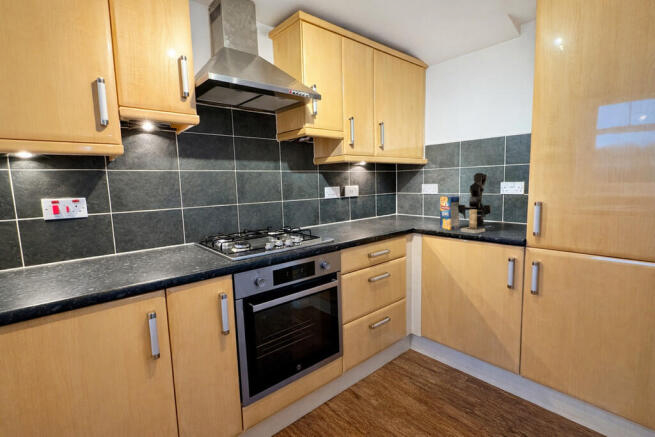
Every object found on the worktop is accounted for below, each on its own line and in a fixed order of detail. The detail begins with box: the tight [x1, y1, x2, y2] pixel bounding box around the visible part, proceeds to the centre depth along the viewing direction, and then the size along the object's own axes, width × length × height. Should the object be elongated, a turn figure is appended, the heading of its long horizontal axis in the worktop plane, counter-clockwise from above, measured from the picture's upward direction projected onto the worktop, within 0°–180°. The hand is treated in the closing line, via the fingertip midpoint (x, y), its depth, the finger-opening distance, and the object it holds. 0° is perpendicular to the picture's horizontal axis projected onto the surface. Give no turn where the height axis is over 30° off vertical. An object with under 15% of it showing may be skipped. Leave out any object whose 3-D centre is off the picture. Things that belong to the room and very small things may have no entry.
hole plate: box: [460, 226, 486, 234], centre depth 193 cm, size 10×10×2 cm
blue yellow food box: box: [439, 195, 461, 231], centre depth 206 cm, size 7×11×22 cm, turn 16°
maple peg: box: [468, 209, 478, 229], centre depth 193 cm, size 4×4×14 cm
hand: (472, 219), depth 191 cm, fingers open, 9 cm apart
